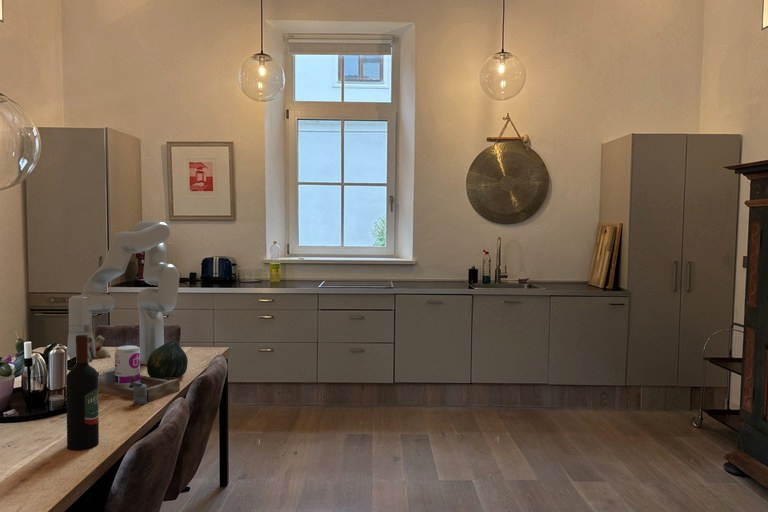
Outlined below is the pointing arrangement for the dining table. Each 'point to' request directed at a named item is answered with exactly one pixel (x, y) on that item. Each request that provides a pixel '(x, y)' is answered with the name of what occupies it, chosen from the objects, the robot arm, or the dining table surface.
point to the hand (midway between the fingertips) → (81, 376)
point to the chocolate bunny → (100, 348)
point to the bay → (142, 389)
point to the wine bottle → (82, 401)
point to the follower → (107, 377)
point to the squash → (167, 361)
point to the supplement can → (127, 365)
